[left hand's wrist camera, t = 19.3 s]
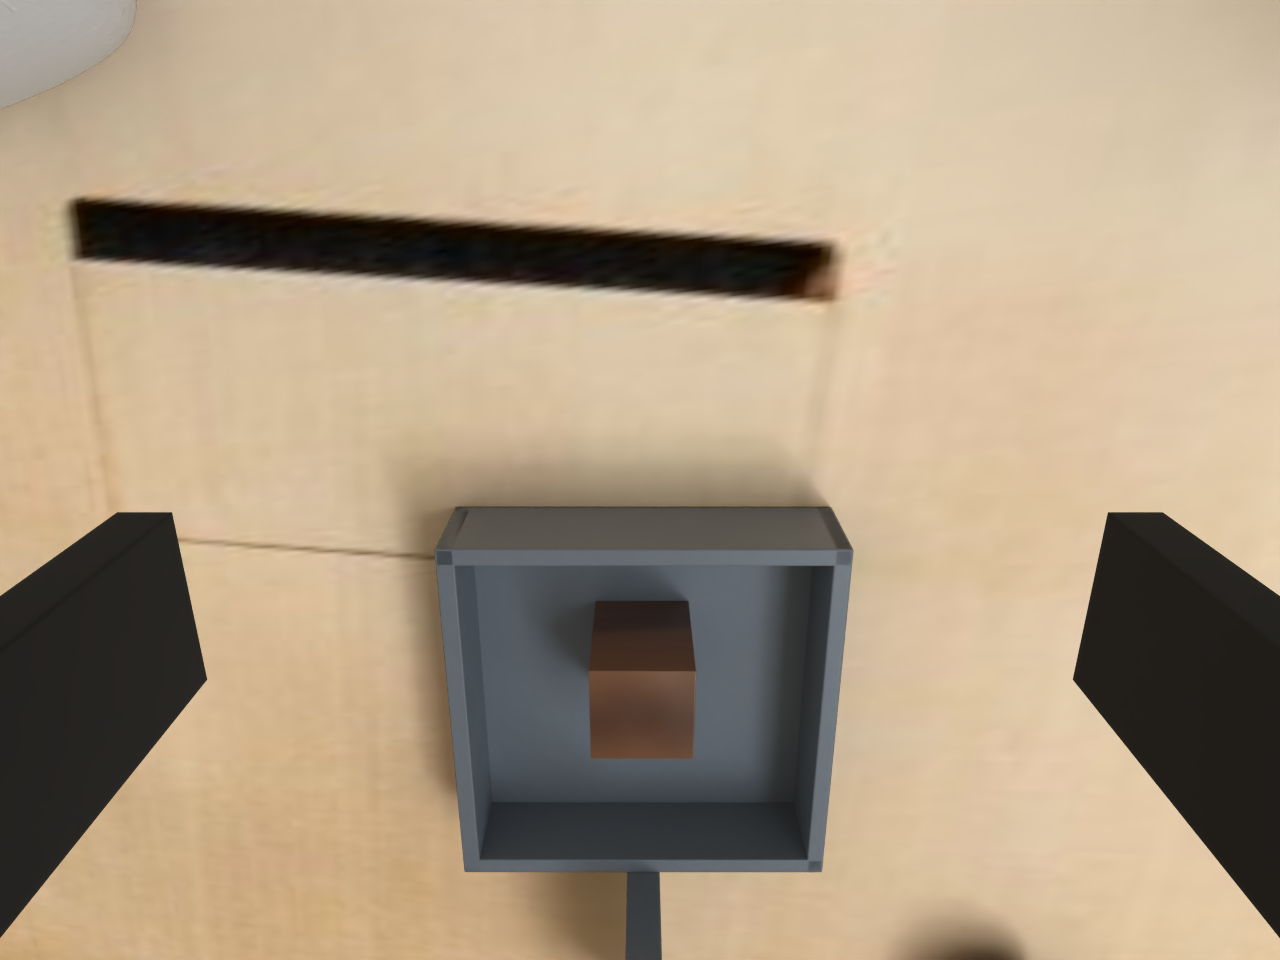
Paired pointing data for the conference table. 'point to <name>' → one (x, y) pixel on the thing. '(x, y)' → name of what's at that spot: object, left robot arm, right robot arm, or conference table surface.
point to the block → (642, 681)
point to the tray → (724, 705)
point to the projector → (56, 41)
